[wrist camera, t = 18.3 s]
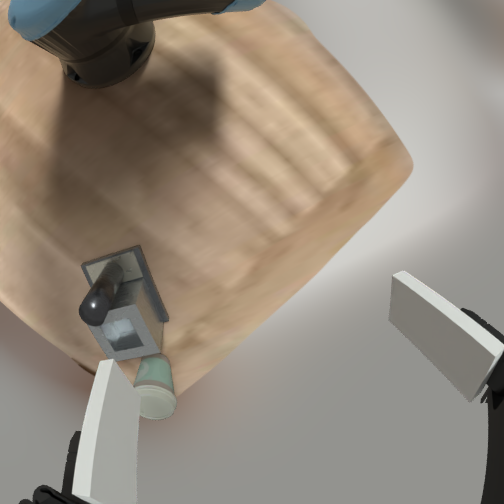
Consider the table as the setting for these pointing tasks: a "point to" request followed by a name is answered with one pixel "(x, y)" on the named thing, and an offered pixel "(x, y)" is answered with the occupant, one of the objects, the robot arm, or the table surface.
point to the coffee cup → (155, 387)
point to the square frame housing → (129, 308)
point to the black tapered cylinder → (101, 295)
